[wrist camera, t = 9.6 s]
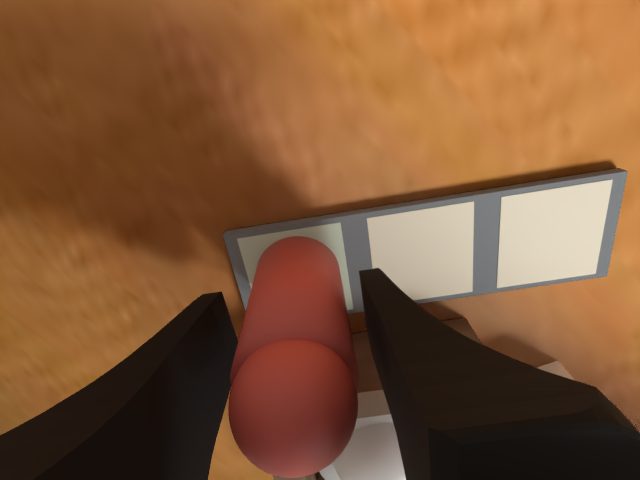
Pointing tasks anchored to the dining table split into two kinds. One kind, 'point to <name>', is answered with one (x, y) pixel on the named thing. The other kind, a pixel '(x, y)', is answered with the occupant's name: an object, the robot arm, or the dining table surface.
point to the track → (460, 239)
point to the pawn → (294, 363)
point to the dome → (369, 453)
